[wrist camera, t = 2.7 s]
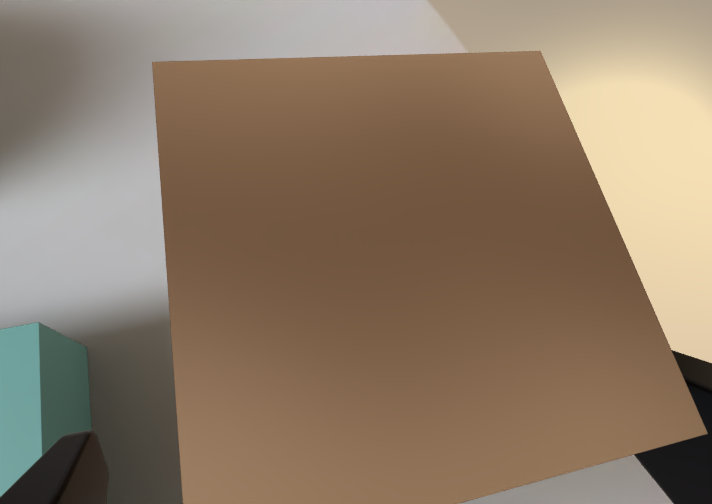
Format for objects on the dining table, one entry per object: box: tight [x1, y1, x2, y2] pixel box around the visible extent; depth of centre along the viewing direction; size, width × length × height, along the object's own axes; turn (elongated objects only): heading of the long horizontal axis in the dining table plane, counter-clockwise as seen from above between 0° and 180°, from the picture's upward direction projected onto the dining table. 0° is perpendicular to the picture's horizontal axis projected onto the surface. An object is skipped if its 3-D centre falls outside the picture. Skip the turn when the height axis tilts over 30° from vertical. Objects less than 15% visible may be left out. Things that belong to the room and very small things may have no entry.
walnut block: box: [152, 51, 708, 504], centre depth 11 cm, size 5×5×13 cm
